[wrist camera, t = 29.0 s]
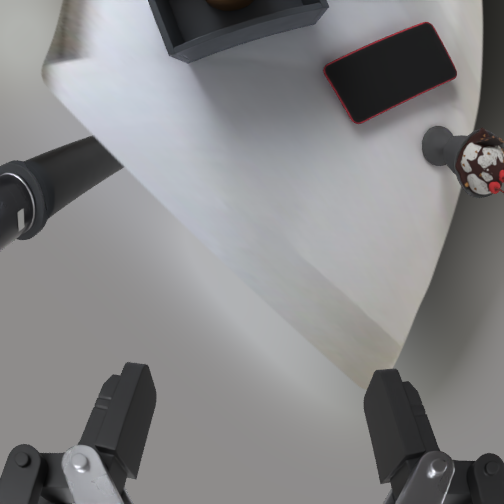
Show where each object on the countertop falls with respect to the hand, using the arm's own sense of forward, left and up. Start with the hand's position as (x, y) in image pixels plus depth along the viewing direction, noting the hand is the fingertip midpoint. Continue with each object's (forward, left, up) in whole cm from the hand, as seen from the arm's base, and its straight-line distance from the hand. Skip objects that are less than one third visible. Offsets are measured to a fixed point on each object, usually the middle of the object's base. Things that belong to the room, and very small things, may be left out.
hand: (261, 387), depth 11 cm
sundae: (+22, -2, -28) cm, 36 cm away
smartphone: (+18, +8, -28) cm, 34 cm away
